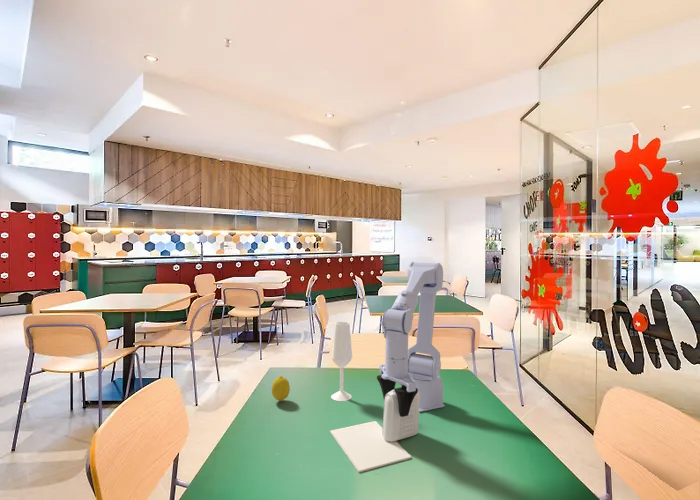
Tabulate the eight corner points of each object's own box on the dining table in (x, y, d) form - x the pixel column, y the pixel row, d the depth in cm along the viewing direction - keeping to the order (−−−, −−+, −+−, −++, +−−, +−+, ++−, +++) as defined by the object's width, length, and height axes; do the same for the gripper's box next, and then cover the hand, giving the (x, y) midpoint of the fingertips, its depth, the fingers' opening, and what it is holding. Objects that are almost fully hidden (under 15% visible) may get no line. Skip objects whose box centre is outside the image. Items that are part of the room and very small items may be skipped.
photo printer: (409, 427, 97) (411, 381, 97) (420, 434, 93) (423, 387, 93) (379, 436, 91) (382, 388, 91) (390, 444, 88) (393, 394, 88)
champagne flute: (353, 393, 119) (354, 321, 118) (349, 402, 112) (350, 326, 111) (333, 391, 120) (334, 320, 119) (329, 400, 113) (329, 325, 113)
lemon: (268, 403, 110) (268, 377, 110) (278, 396, 116) (278, 372, 115) (283, 406, 108) (283, 380, 108) (292, 399, 113) (293, 374, 113)
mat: (375, 422, 99) (375, 420, 99) (411, 458, 83) (411, 456, 83) (330, 432, 94) (330, 430, 94) (358, 472, 78) (358, 470, 78)
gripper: (369, 350, 96) (369, 400, 96) (398, 367, 83) (397, 425, 83) (392, 347, 99) (392, 395, 99) (423, 363, 86) (422, 419, 86)
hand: (396, 409), depth 91 cm, fingers open, 7 cm apart
